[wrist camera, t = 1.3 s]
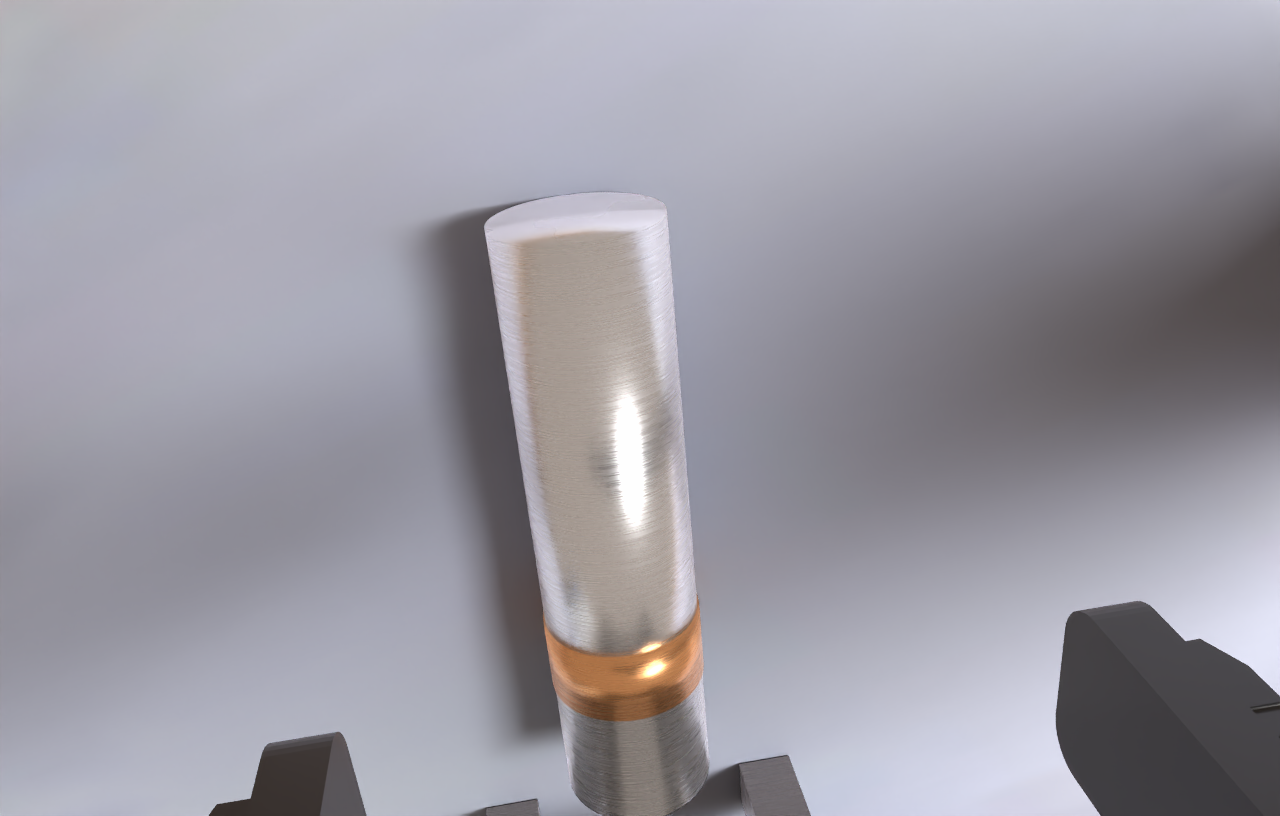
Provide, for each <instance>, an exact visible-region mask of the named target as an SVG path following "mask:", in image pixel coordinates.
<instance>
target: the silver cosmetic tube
mask: <svg viewBox="0 0 1280 816" xmlns="http://www.w3.org/2000/svg"><path fill="white" fill-rule="evenodd" d="M484 229H485V236H486V242H487V249H488V255H489V262H490V268H491V274H492V281H493V287H494V294H495V300H496V307H497V313H498V320H499V326H500V333H501V339H502V346H503V352H504V358H505V365H506V371H507V378H508V384H509V391H510V397H511V404H512V410H513V417H514V423H515V430H516V436H517V442H518V449H519V455H520V462H521V468H522V475H523V481H524V488H525V494H526V501H527V507H528V514H529V520H530V526H531V533H532V539H533V546H534V552H535V559H536V565H537V572H538V578H539V585H540V591H541V598H542V604H543V610H544V611H543V623H544V629H545V636H546V642H547V649H548V655H549V662H550V668H551V674H552V681H553V686H554V689H555V691H556V694H557V701H558V707H559V714H560V720H561V727H562V733H563V740H564V746H565V753H566V759H567V766H568V772H569V778H570V783H571V786H572V789H573V791H574V793H575V794H576V796H577V797H578V798H579V800H580V801H581V802H582V803H583V804H584V805H586V806H587V807H588V808H590V809H591V810H593V811H595V812H597V813H599V814H601V815H603V816H664V815H667V814H669V813H671V812H674V811H676V810H677V809H679V808H681V807H683V806H684V805H685V804H687V803H688V802H689V801H691V800H692V799H693V798H694V797H695V796H696V795H697V793H698V792H699V791H700V790H701V788H702V786H703V785H704V783H705V781H706V778H707V776H708V771H709V751H708V738H707V725H706V712H705V699H704V686H703V667H704V662H703V649H702V636H701V622H700V609H699V600H698V595H697V593H696V582H695V569H694V556H693V543H692V530H691V517H690V504H689V491H688V478H687V466H686V453H685V440H684V427H683V414H682V401H681V388H680V375H679V362H678V349H677V336H676V323H675V310H674V297H673V284H672V271H671V258H670V245H669V232H668V219H667V208H666V205H665V204H664V203H663V202H661V201H660V200H658V199H656V198H653V197H650V196H645V195H641V194H634V193H623V192H591V193H577V194H568V195H560V196H554V197H548V198H543V199H538V200H534V201H530V202H526V203H523V204H519V205H516V206H513V207H510V208H508V209H505V210H503V211H501V212H499V213H497V214H495V215H494V216H492V217H491V218H490V219H488V220H487V222H486V223H485V226H484Z"/></svg>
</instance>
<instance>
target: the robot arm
mask: <svg viewBox="0 0 1280 816" xmlns="http://www.w3.org/2000/svg"><path fill="white" fill-rule="evenodd" d="M1056 730H1057V736H1058V741H1059V744H1060V748H1061V751H1062V754H1063V757H1064V759H1065V761H1066V764H1067V766H1068V768H1069V769H1070V771H1071V773H1072V775H1073V776H1074V778H1075V779H1076V781H1077V782H1078V783H1079V785H1080V786H1081V788H1082V789H1083V791H1084V792H1085V794H1086V795H1087V796H1088V798H1089V799H1090V801H1091V802H1092V804H1093V805H1094V807H1095V808H1096V809H1097V811H1098V812H1099V814H1100V815H1101V816H1280V696H1279V695H1278V694H1277V693H1276V692H1275V691H1274V690H1273V689H1272V688H1271V687H1270V686H1269V685H1268V684H1267V683H1266V682H1264V681H1263V680H1262V679H1261V678H1260V677H1259V676H1258V675H1257V674H1256V673H1255V672H1254V671H1253V670H1252V669H1251V668H1250V667H1249V666H1248V665H1246V664H1244V663H1242V662H1241V661H1239V660H1237V659H1235V658H1233V657H1232V656H1230V655H1228V654H1226V653H1224V652H1223V651H1221V650H1219V649H1217V648H1216V647H1214V646H1212V645H1210V644H1208V643H1207V642H1205V641H1203V640H1201V639H1196V640H1190V641H1184V640H1183V639H1182V637H1181V636H1180V635H1179V634H1178V633H1177V632H1176V631H1175V630H1174V629H1173V628H1172V627H1171V626H1170V625H1169V624H1168V623H1167V622H1166V621H1165V620H1164V619H1163V618H1162V617H1161V616H1160V615H1159V614H1158V613H1157V612H1156V611H1155V610H1154V609H1153V608H1152V607H1151V606H1150V605H1148V604H1146V603H1144V602H1141V601H1134V602H1128V603H1122V604H1116V605H1110V606H1104V607H1098V608H1092V609H1087V610H1081V611H1076V612H1073V613H1072V614H1071V615H1070V616H1069V618H1068V620H1067V623H1066V627H1065V635H1064V644H1063V654H1062V663H1061V672H1060V681H1059V690H1058V699H1057V708H1056ZM209 816H366V812H365V809H364V805H363V801H362V798H361V794H360V791H359V787H358V783H357V780H356V776H355V773H354V769H353V765H352V762H351V758H350V754H349V751H348V747H347V744H346V741H345V739H344V737H343V735H342V734H341V733H340V732H335V733H329V734H323V735H317V736H311V737H305V738H299V739H293V740H287V741H281V742H275V743H269V744H267V745H266V747H265V748H264V750H263V752H262V756H261V759H260V763H259V767H258V771H257V775H256V779H255V783H254V787H253V791H252V795H251V799H246V800H240V801H234V802H228V803H223V804H217V805H216V806H215V808H214V809H213V810H212V812H211V813H210V814H209Z"/></svg>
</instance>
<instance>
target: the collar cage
mask: <svg viewBox="0 0 1280 816" xmlns="http://www.w3.org/2000/svg"><path fill="white" fill-rule="evenodd" d="M739 771H740V788H741V802H742V805H743V809H744V812H745V815H746V816H811V815H810V812H809V809H808V807H807V804H806V801H805V799H804V796H803V793H802V791H801V788H800V785H799V783H798V780H797V777H796V775H795V772H794V769H793V767H792V764H791V761H790V759H789V756H783V757H778V758H772V759H766V760H760V761H755V762H749V763H743V764H739ZM486 816H540V811H539V805H538V799H537V800H531V801H526V802H520V803H514V804H508V805H503V806H497V807H491V808H486Z"/></svg>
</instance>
